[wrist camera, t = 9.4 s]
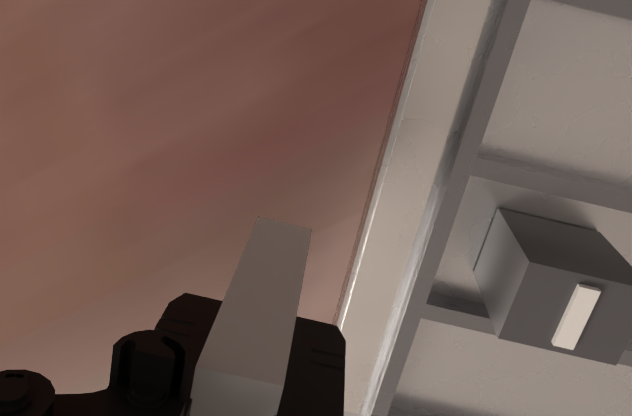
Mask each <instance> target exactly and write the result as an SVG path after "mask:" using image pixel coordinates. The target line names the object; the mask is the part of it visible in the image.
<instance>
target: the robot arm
mask: <svg viewBox="0 0 632 416" xmlns="http://www.w3.org/2000/svg"><path fill="white" fill-rule="evenodd" d="M311 232H312V229H309V228H305V227H301V226H297V225H292V224H288V223H284V222H279V221H275V220H271V219H266V218H262V217H258V218H257V221H256V223H255V226H254V228H253V230H252V233H251V235H250V238H249V240H248V242H247V245H246V247H245V249H244V252H243V254H242V257H241V259H240V261H239V264H238V266H237V269H236V271H235V273H234V276H233V278H232V281H231V283H230V285H229V288H228V290H227V293H226V295H225V297H224V300H223V301H219V300H215V299H211V298H206V297H202V296H197V295H193V294H189V293H184V294H183V295H181V296H179V297H178V298H176V299H174V300H173V301H171V302H170V303H169V304H168V306H167V308H166V309H165V311H164V313H163V315H162V317H161V319H160V320H159V321H158V323H157V325H156V327H155V330H145V331H137V332H133V333H131V334H128V335H126V336H124V337H122V338H121V339H120V340H119V341H117V342H116V343H115V344H114V345H113V354H112V363H111V372H110V382H109V386H108V388H107V389H105V390H101V391H97V392H93V393H84V394H55V389H54V387H53V385H52V383H51V381H50V380H48V379H47V378H46V377H44V376H43V375H41V374H40V373H36V372H32V371H28V370H5V371H1V372H0V416H344V390H345V356H346V340H345V338H344V337H343V335H342V333H341V331H340V330H339V328H338V326H336V325H332V324H327V323H323V322H318V321H314V320H310V319H305V318H301V317H297V310H298V305H299V299H300V293H301V288H302V282H303V277H304V271H305V266H306V260H307V254H308V249H309V243H310V238H311Z"/></svg>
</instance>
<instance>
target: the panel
mask: <svg viewBox="0 0 632 416" xmlns="http://www.w3.org/2000/svg"><path fill="white" fill-rule="evenodd" d="M498 208H500V209H504V210H509V211H513V212H517V213H521V214H526V215H530V216H534V217H538V218H543V219H547V220H551V221H555V222H560V223H564V224H568V225H572V226H577V227H581V228H585V229H589V230H594V231H598V232H600V233H601V234H602V235H603V236H604V237H605V238H606V239H607V240H608V241H609V242H610V243H611V245H612V246H613V247H614V248H615V249H616V250H617V251H618V252H619V253H620V254H621V255H622V256H623V257H624V259H625V260H626V261H627V262H628V263H629V264H630V265H631V266H632V0H422V3H421V7H420V10H419V14H418V17H417V21H416V25H415V28H414V32H413V35H412V39H411V43H410V46H409V50H408V53H407V57H406V61H405V64H404V68H403V72H402V75H401V79H400V82H399V86H398V90H397V93H396V97H395V100H394V104H393V108H392V111H391V115H390V119H389V122H388V126H387V129H386V133H385V137H384V140H383V144H382V147H381V151H380V155H379V158H378V162H377V166H376V169H375V173H374V176H373V180H372V184H371V187H370V191H369V194H368V198H367V202H366V205H365V209H364V212H363V216H362V220H361V223H360V227H359V231H358V234H357V238H356V241H355V245H354V249H353V252H352V256H351V259H350V263H349V267H348V270H347V274H346V278H345V281H344V285H343V288H342V292H341V296H340V299H339V303H338V306H337V310H336V314H335V317H334V321H333V325H336V326H338V328H339V330H340V331H341V333H342V335H343V337H344V338H345V340H346V356H345V390H344V416H632V336H631V338H630V340H629V342H628V344H627V346H626V348H625V350H624V352H623V354H622V355H621V357H620V359H619V361H618V363H617V365H616V366H615V365H611V364H607V363H602V362H598V361H594V360H589V359H585V358H581V357H576V356H572V355H568V354H563V353H559V352H555V351H550V350H546V349H542V348H537V347H533V346H529V345H524V344H520V343H516V342H511V341H507V340H503V339H498V337H497V335H496V332H495V329H494V327H493V324H492V321H491V319H490V316H489V313H488V311H487V308H486V305H485V303H484V300H483V298H482V295H481V292H480V290H479V287H478V284H477V282H476V279H475V276H474V274H473V273H474V270H475V268H476V265H477V262H478V260H479V257H480V254H481V252H482V249H483V246H484V244H485V241H486V238H487V236H488V233H489V230H490V227H491V225H492V222H493V219H494V217H495V214H496V211H497V209H498Z"/></svg>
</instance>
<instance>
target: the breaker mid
mask: <svg viewBox="0 0 632 416" xmlns="http://www.w3.org/2000/svg"><path fill="white" fill-rule="evenodd" d="M473 274H474V276H475V279H476V282H477V284H478V287H479V290H480V292H481V295H482V298H483V300H484V303H485V305H486V308H487V311H488V313H489V316H490V319H491V321H492V324H493V327H494V329H495V332H496V335H497V337H498V339H503V340H507V341H511V342H516V343H520V344H524V345H529V346H533V347H537V348H542V349H546V350H550V351H555V352H559V353H563V354H568V355H572V356H576V357H581V358H585V359H589V360H594V361H598V362H602V363H607V364H611V365H615V366H616V365H617V363H618V361H619V359H620V357H621V355H622V354H623V352H624V350H625V348H626V346H627V344H628V342H629V340H630V338H631V336H632V266H631V265H630V264H629V263H628V262H627V261H626V260H625V259H624V257H623V256H622V255H621V254H620V253H619V252H618V251H617V250H616V249H615V248H614V247H613V246H612V245H611V243H610V242H609V241H608V240H607V239H606V238H605V237H604V236H603V235H602V234H601V233H600V232H598V231H594V230H589V229H585V228H581V227H577V226H572V225H568V224H564V223H560V222H555V221H551V220H547V219H543V218H538V217H534V216H530V215H526V214H521V213H517V212H513V211H509V210H504V209H500V208H498V209H497V211H496V214H495V217H494V219H493V222H492V225H491V227H490V230H489V233H488V236H487V238H486V241H485V244H484V246H483V249H482V252H481V254H480V257H479V260H478V262H477V265H476V268H475V270H474V273H473Z"/></svg>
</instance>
